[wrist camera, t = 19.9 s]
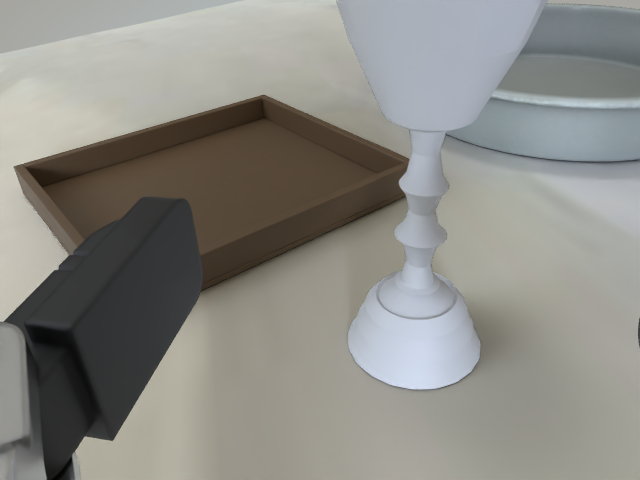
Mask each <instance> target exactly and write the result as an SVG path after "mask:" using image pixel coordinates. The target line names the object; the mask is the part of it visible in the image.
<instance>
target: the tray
mask: <svg viewBox="0 0 640 480" xmlns="http://www.w3.org/2000/svg"><path fill="white" fill-rule="evenodd" d="M409 161H410V159H408V158H406V157H404V156H402V155H399V154H397V153H395V152H393V151H390V150H388V149H386V148H384V147H381V146H379V145H377V144H374V143H372V142H370V141H368V140H365V139H363V138H361V137H359V136H356V135H354V134H352V133H350V132H347V131H345V130H343V129H341V128H338V127H336V126H334V125H331V124H329V123H327V122H325V121H322V120H320V119H318V118H316V117H313V116H311V115H309V114H307V113H304V112H302V111H300V110H297V109H295V108H293V107H291V106H288V105H286V104H284V103H282V102H279V101H277V100H275V99H273V98H270V97H268V96H266V95H261V96H258V97H254V98H251V99H247V100H244V101H240V102H237V103H233V104H230V105H226V106H223V107H219V108H216V109H212V110H209V111H205V112H202V113H198V114H195V115H191V116H188V117H184V118H181V119H177V120H174V121H170V122H167V123H164V124H160V125H157V126H153V127H150V128H146V129H143V130H139V131H136V132H132V133H129V134H125V135H122V136H118V137H115V138H111V139H108V140H104V141H101V142H97V143H94V144H90V145H87V146H83V147H80V148H76V149H73V150H69V151H66V152H62V153H59V154H55V155H52V156H49V157H45V158H42V159H38V160H35V161H31V162H28V163H24V164H21V165H17V166H14V169H15V172H16V175H17V177H18V180H19V183H20V185H21V188H22V191H23V194H24V195H25V196H26V198H27V199H28V200H29V202H30V203H31V204H32V206H33V207H34V208H35V210H36V211H37V212H38V214H39V215H40V216H41V218H42V219H43V220H44V222H45V223H46V224H47V226H48V227H49V228H50V230H51V231H52V232H53V233H54V235H55V236H56V237H57V239H58V240H59V241H60V243H61V244H62V245H63V247H64V248H65V249H66V251H67V252H68V253H69V255H73V251H74V250H75V249H76V248H77V247H78V246H79V245H80V244H81V243H82V242H83V241H84V240H85V239H86V238H87V237H88V236H89V235H90V234H92V233H93V232H95V231H97V230H99V229H100V228H102V227H104V226H106V225H107V224H109V223H111V222H113V221H115V220H120V219H121V218H122V217H123V216H124V215H125V214H126V213H127V212H128V211H129V210H130V209H131V208H132V207H133V206H134V205H135V203H136V202H137V201H138V200H139V199H140V198H142V197H143V196H157V197H171V198H183V199H186V200H187V201H188V202H189V204H190V207H191V210H192V214H193V220H194V225H195V230H196V236H197V241H198V246H199V252H200V257H201V263H202V269H203V281H202V287H201V290H204V289H206V288H208V287H210V286H212V285H214V284H217V283H219V282H221V281H223V280H225V279H227V278H230V277H232V276H234V275H236V274H238V273H240V272H243V271H245V270H247V269H249V268H251V267H253V266H255V265H258V264H260V263H262V262H264V261H266V260H268V259H271V258H273V257H275V256H277V255H279V254H281V253H284V252H286V251H288V250H290V249H292V248H294V247H297V246H299V245H301V244H303V243H305V242H307V241H310V240H312V239H314V238H316V237H318V236H320V235H322V234H325V233H327V232H329V231H331V230H333V229H335V228H338V227H340V226H342V225H344V224H346V223H348V222H351V221H353V220H355V219H357V218H359V217H361V216H364V215H366V214H368V213H370V212H372V211H374V210H377V209H379V208H381V207H383V206H385V205H387V204H390V203H392V202H394V201H396V200H398V199H400V198H402V197H405V196H406V194H405V193H404V192H403V190H402V189H401V188H400V186H399V180H400V179H401V178H402V176H403V175H404V174H405V173H406V172H407V168H408V164H409Z"/></svg>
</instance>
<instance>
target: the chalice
mask: <svg viewBox="0 0 640 480" xmlns="http://www.w3.org/2000/svg"><path fill="white" fill-rule="evenodd" d="M336 1H337V5H338V8H339V11H340V14H341V17H342V20H343V23H344V26H345V30H346V33H347V36H348V38H349V41H350V43H351V45H352V47H353V49H354V52H355V54H356V56H357V58H358V60H359V63H360V65H361V67H362V69H363V71H364V74H365V76H366V78H367V80H368V82H369V85H370V87H371V89H372V91H373V93H374V95H375V98H376V100H377V102H378V104H379V106H380V109H381V111H382V113H383V115H384V117H385V118H386V119H388V120H389V121H390V122H392V123H395V124H397V125H399V126H402V127H405V128H407V129H409V132H410V139H411V145H412V153H411V157H410V161H409V164H408V168H407V172H406V173H405V174H404V175H403V176H402V178H401V179H400V180H399V186H400V188H401V189H402V190H403V192H404V193H405V194H406V198H407V202H408V206H409V209H408V212H407V215H406V217H405V220H404V221H403V222H401V223H400V224H399V225H398V226H397V227H396V228H395V231H394V234H395V237H396V238H397V239H398V240H399V241H400V242H401V243H402V244H403V246H404V251H405V256H406V262H405V265H404V268H403V270H401V271H398V272H394V273H392V274H390V275H388V276H386V277H384V278H383V279H382V280H380V281H379V282H377V283H376V284H375V285H374V286H373V287H372V288H371V289H370V290H369V291H368V294H367V297H366V300H365V302H364V303H363V304H362V305H361V307H360V310H359V313H358V315H357V317H356V318H355V319H354V320H353V321H352V324H351V326H350V329H349V332H348V345H349V350H350V352H351V354H352V355H353V357H354V359H355V361H356V362H357V364H358V365H359V366H361V367H362V368H363V369H364V370H365V371H366V372H367V373H369V374H370V375H371V376H372V377H375V378H377V379H379V380H381V381H383V382H385V383H387V384H390V385H392V386H397V387H403V388H408V389H413V390H418V389H437V388H440V387H443V386H447V385H450V384H453V383H456V382H458V381H459V380H460V379H462V378H463V377H465V376H466V375H467V374H469V373H470V372H471V371H472V370H473V368H474V366H475V365H476V363H477V361H478V360H479V358H480V346H481V343H480V340H479V337H478V335H477V332H476V330H475V328H474V326H473V322H472V319H471V316H470V314H469V311H468V310H467V305H466V302H465V300H464V297H463V296H462V295H461V293H460V292H459V291H458V290H457V289H456V288H455V287H454V286H453V284H452V283H451V282H450V281H449V280H448V279H446V278H444V277H443V276H441V275H439V274H436V273H433V271H432V265H431V261H432V258H433V255H434V252H435V250H436V247H438V246H439V245H441V244H443V243H444V242H445V240H446V239H447V233H446V231H445V230H444V229H443V228H442V227H441V226H440V225H439V224H438V220H437V216H436V208H437V206H438V203H439V201H440V198H441V196H442V195H443V194H444V193H445V192H446V191H447V190H448V189H449V183H448V181H447V180H446V178H445V177H444V175H443V170H442V162H441V154H440V151H441V148H442V144H443V141H444V138H445V134H446V131H451V130H455V129H459V128H462V127H465V126H467V125H469V124H471V123H472V122H473V121H475V120H476V119H477V117H478V116H479V114H480V112H481V111H482V109H483V108H484V106H485V105H486V103H487V102H488V100H489V99H490V97H491V96H492V94H493V93H494V91H495V90H496V88H497V87H498V85H499V84H500V82H501V81H502V79H503V78H504V76H505V74H506V73H507V71H508V70H509V68H510V67H511V65H512V64H513V62H514V61H515V59H516V58H517V56H518V55H519V53H520V52H521V50H522V49H523V47H524V46H525V44H526V43H527V41H528V39H529V37H530V35H531V33H532V31H533V29H534V27H535V25H536V23H537V21H538V19H539V17H540V15H541V13H542V11H543V9H544V7H545V5H546V3H547V1H548V0H336Z"/></svg>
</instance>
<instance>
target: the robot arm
mask: <svg viewBox="0 0 640 480" xmlns="http://www.w3.org/2000/svg"><path fill="white" fill-rule="evenodd" d="M202 281H203V269H202V263H201V257H200V252H199V246H198V241H197V236H196V230H195V225H194V220H193V214H192V210H191V207H190V204H189V202H188V201H187V200H186V199H183V198H171V197H157V196H143V197H142V198H140V199H139V200H138V201H137V202H136V203H135V205H134V206H133V207H132V208H131V209H130V210H129V211H128V212H127V213H126V214H125V215H124V216H123V217H122V218H121V219H120V220H115V221H113V222H111V223H109V224H107V225H106V226H104V227H102V228H100V229H99V230H97V231H95V232H93V233H92V234H90V235H89V236H88V237H87V238H86V239H85V240H84V241H83V242H82V243H81V244H80V245H79V246H78V247H77V248H76V249H75V250H74V251H73V255H69V256H68V257H67V258H66V259H65V260H64V261H63V262H62V263H61V264H60V265H59V269H58V270H54V271H53V272H52V273H51V274H50V275H49V276H48V277H47V279H46V280H45V281H44V282H43V283H42V284H41V285H40V286H39V287H38V288H37V289H36V290H35V291H34V292H33V293H32V294H31V295H30V296H29V297H28V298H27V299H26V300H25V301H24V302H23V303H22V304H21V305H20V306H19V307H18V308H17V309H16V310H15V311H14V312H13V313H12V314H11V315H10V316H9V317H8V318H7V319H6V320H5V321H4V322H0V480H81V474H80V467H79V461H78V458H77V455H76V453H75V450H76V449H77V447H78V446H79V444H80V443H81V441H82V440H83V438H84V436H87V437H93V438H99V439H105V440H111V441H113V439H114V438H115V436H116V435H117V433H118V431H119V430H120V428H121V426H122V425H123V423H124V421H125V420H126V418H127V416H128V415H129V413H130V411H131V410H132V408H133V406H134V405H135V403H136V401H137V400H138V398H139V396H140V395H141V393H142V391H143V390H144V388H145V386H146V385H147V383H148V381H149V380H150V378H151V376H152V375H153V373H154V371H155V370H156V368H157V366H158V365H159V363H160V361H161V360H162V358H163V356H164V355H165V353H166V351H167V350H168V348H169V346H170V345H171V343H172V341H173V340H174V338H175V336H176V335H177V333H178V331H179V330H180V328H181V326H182V325H183V323H184V321H185V320H186V318H187V317H188V315H189V313H190V312H191V310H192V308H193V307H194V305H195V303H196V302H197V300H198V297H199V295H200V292H201V287H202ZM638 339H639V346H640V319H639V327H638Z"/></svg>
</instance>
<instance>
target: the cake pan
mask: <svg viewBox="0 0 640 480" xmlns="http://www.w3.org/2000/svg"><path fill="white" fill-rule="evenodd" d="M446 134H447V135H450V136H452V137H455V138H457V139H459V140H462V141H465V142H468V143H472V144H475V145H478V146H481V147H485V148H488V149H493V150H497V151H501V152H506V153H511V154H517V155H524V156H530V157H537V158H544V159H554V160H568V161H628V160H637V159H640V9H632V8H623V7H614V6H601V5H586V4H552V3H551V4H546V5H545V7H544V9H543V11H542V13H541V15H540V17H539V19H538V21H537V23H536V25H535V27H534V29H533V31H532V33H531V35H530V37H529V39H528V41H527V43H526V44H525V46H524V47H523V49H522V50H521V52H520V53H519V55H518V56H517V58H516V59H515V61H514V62H513V64H512V65H511V67H510V68H509V70H508V71H507V73H506V74H505V76H504V78H503V79H502V81H501V82H500V84H499V85H498V87H497V88H496V90H495V91H494V93H493V94H492V96H491V97H490V99H489V100H488V102H487V103H486V105H485V106H484V108H483V109H482V111H481V112H480V114H479V116H478V117H477V119H476V120H475V121H473V122H472V123H471V124H469V125H467V126H465V127H462V128H459V129H455V130H451V131H446Z"/></svg>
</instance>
